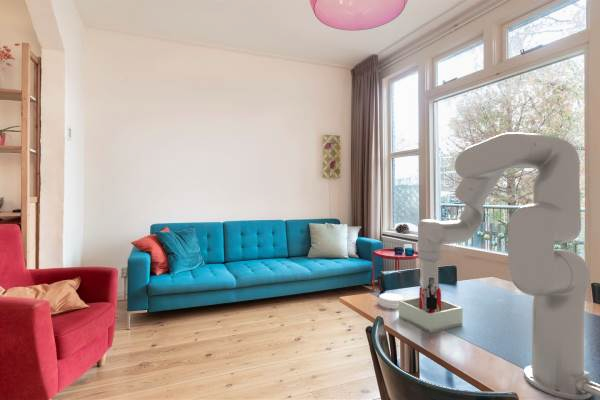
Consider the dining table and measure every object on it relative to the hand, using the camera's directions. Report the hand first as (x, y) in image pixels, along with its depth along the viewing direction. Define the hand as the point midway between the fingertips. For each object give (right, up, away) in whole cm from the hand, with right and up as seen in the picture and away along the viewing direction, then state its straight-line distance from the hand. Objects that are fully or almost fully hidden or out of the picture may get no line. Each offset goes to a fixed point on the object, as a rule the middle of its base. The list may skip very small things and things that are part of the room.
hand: (429, 303), depth 113 cm
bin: (0, -6, 0) cm, 6 cm away
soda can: (0, -5, 0) cm, 5 cm away
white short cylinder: (-8, -6, +17) cm, 20 cm away
